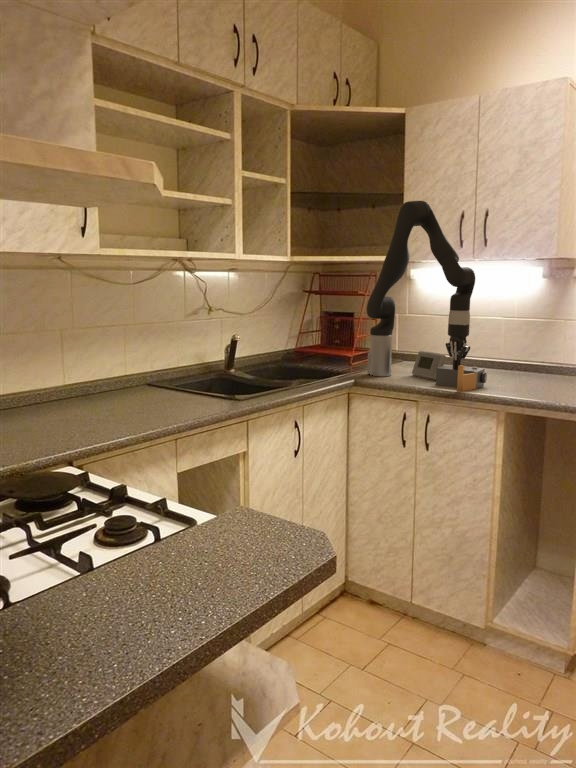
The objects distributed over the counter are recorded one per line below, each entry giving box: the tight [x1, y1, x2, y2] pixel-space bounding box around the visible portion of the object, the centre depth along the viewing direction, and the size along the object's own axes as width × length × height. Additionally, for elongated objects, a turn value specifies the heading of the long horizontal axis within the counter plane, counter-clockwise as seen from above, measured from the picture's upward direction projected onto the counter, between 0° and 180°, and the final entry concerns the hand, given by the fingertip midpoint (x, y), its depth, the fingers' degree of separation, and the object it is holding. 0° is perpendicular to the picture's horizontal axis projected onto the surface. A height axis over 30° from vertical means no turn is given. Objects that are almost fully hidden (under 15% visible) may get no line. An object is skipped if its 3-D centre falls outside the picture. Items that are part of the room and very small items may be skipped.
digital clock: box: [411, 350, 447, 381], centre depth 251 cm, size 16×9×11 cm, turn 16°
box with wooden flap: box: [435, 364, 488, 389], centre depth 234 cm, size 18×9×7 cm, turn 57°
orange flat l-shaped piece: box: [456, 364, 478, 393], centre depth 223 cm, size 10×2×10 cm, turn 124°
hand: (456, 369), depth 223 cm, fingers closed
